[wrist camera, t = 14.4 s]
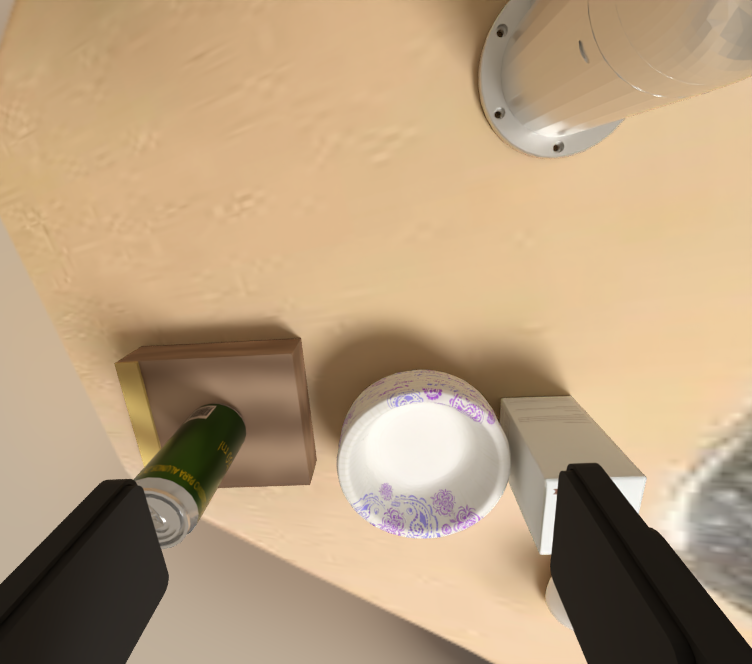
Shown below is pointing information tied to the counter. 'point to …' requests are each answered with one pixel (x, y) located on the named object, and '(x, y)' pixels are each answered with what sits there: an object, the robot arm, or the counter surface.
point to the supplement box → (557, 457)
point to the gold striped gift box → (232, 387)
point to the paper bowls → (422, 455)
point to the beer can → (190, 470)
